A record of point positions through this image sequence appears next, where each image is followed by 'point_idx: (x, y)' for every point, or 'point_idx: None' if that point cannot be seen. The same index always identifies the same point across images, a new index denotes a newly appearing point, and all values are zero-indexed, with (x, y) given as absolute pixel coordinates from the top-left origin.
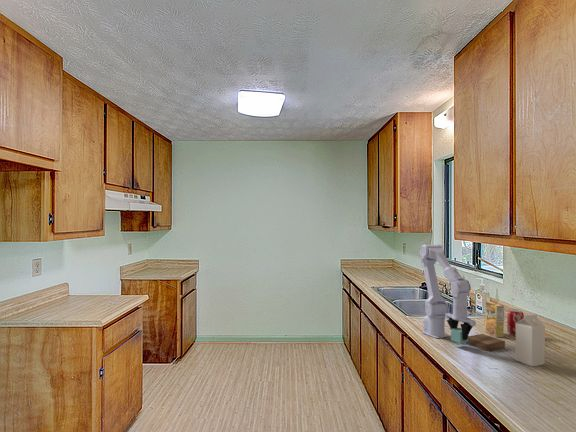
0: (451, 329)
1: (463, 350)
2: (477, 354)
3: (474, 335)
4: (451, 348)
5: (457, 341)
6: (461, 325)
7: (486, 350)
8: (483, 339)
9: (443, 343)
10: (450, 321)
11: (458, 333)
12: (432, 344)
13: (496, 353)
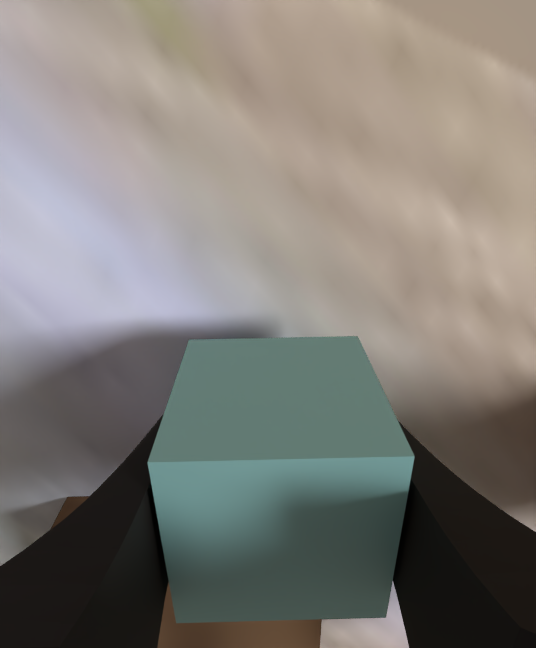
0: (398, 448)
1: (157, 313)
2: (7, 354)
3: (316, 635)
4: (264, 231)
5: (237, 345)
6: (18, 641)
7: (80, 501)
8: (185, 623)
9: (442, 283)
10: (534, 646)
11: (208, 429)
12: (508, 94)
13: (7, 520)
